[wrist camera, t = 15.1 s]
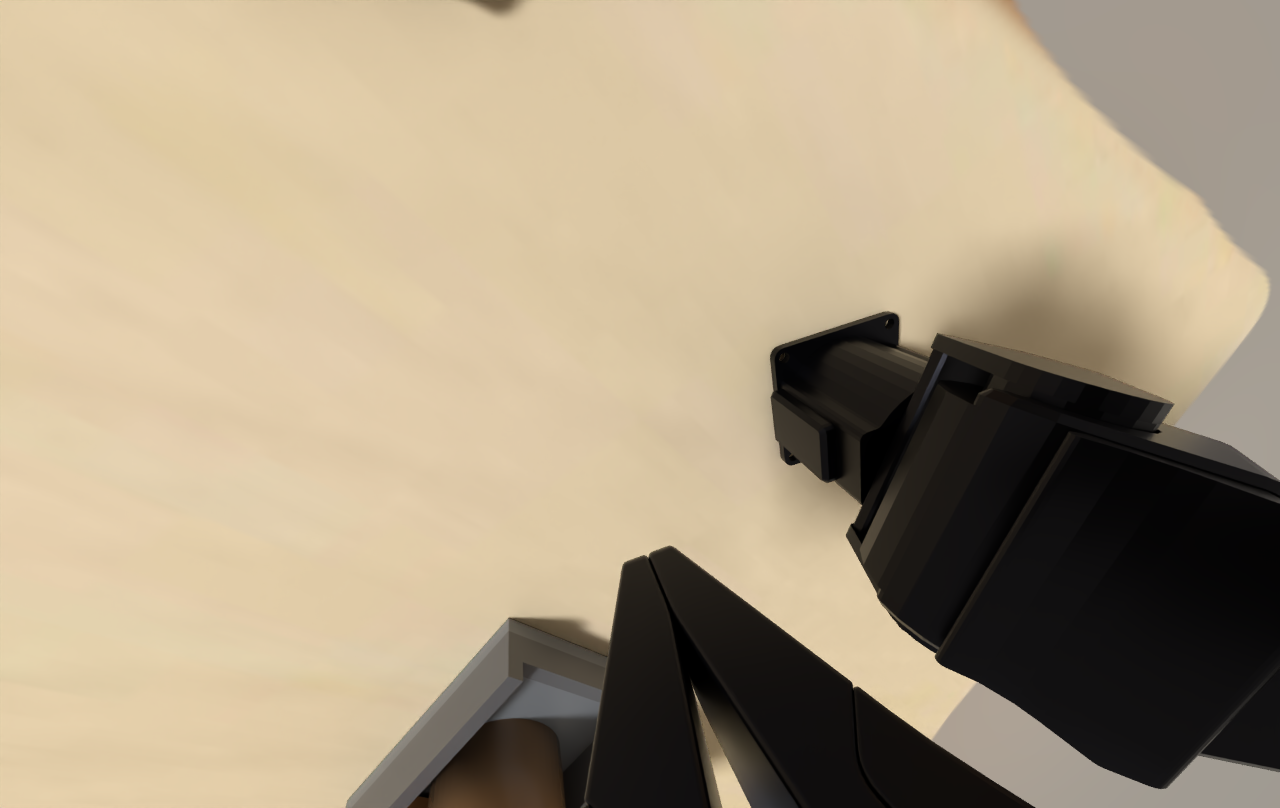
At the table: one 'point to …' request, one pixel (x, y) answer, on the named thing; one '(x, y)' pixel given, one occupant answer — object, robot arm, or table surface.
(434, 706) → the tray
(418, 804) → the block
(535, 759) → the jar
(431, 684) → the table surface
